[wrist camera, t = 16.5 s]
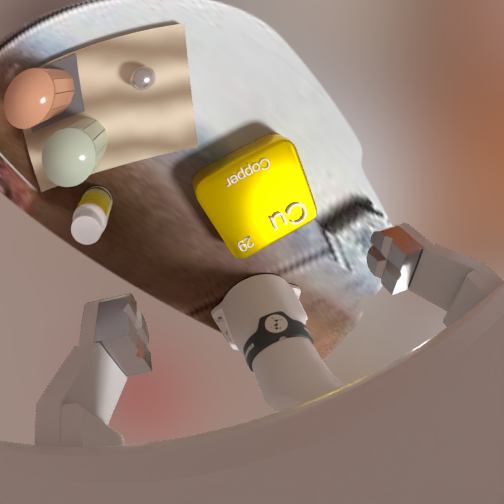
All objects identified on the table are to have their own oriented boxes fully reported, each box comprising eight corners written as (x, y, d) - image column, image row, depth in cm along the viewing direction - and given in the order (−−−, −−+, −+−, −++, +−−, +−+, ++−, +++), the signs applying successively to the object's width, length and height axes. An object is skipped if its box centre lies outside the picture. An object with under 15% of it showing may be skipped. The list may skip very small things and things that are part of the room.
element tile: (278, 128, 37) (293, 134, 34) (307, 205, 47) (321, 219, 43) (186, 177, 38) (190, 189, 34) (231, 248, 47) (239, 265, 44)
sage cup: (112, 158, 31) (101, 177, 25) (69, 172, 29) (51, 194, 24) (101, 111, 27) (87, 119, 21) (57, 127, 26) (35, 140, 20)
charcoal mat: (84, 111, 26) (84, 111, 26) (32, 132, 24) (32, 132, 24) (76, 54, 21) (75, 53, 21) (23, 78, 19) (22, 78, 19)
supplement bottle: (81, 186, 32) (65, 213, 26) (112, 184, 34) (102, 211, 28) (84, 216, 35) (71, 248, 29) (113, 215, 37) (106, 247, 30)
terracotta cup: (77, 107, 25) (57, 115, 19) (35, 124, 24) (9, 138, 18) (70, 61, 21) (49, 58, 15) (27, 80, 20) (-1, 84, 14)
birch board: (196, 144, 35) (198, 146, 34) (44, 188, 30) (41, 192, 29) (183, 25, 25) (184, 23, 24) (18, 79, 20) (13, 79, 19)
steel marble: (157, 86, 28) (157, 87, 25) (133, 92, 27) (130, 93, 25) (154, 64, 26) (154, 62, 23) (130, 70, 25) (127, 69, 23)
